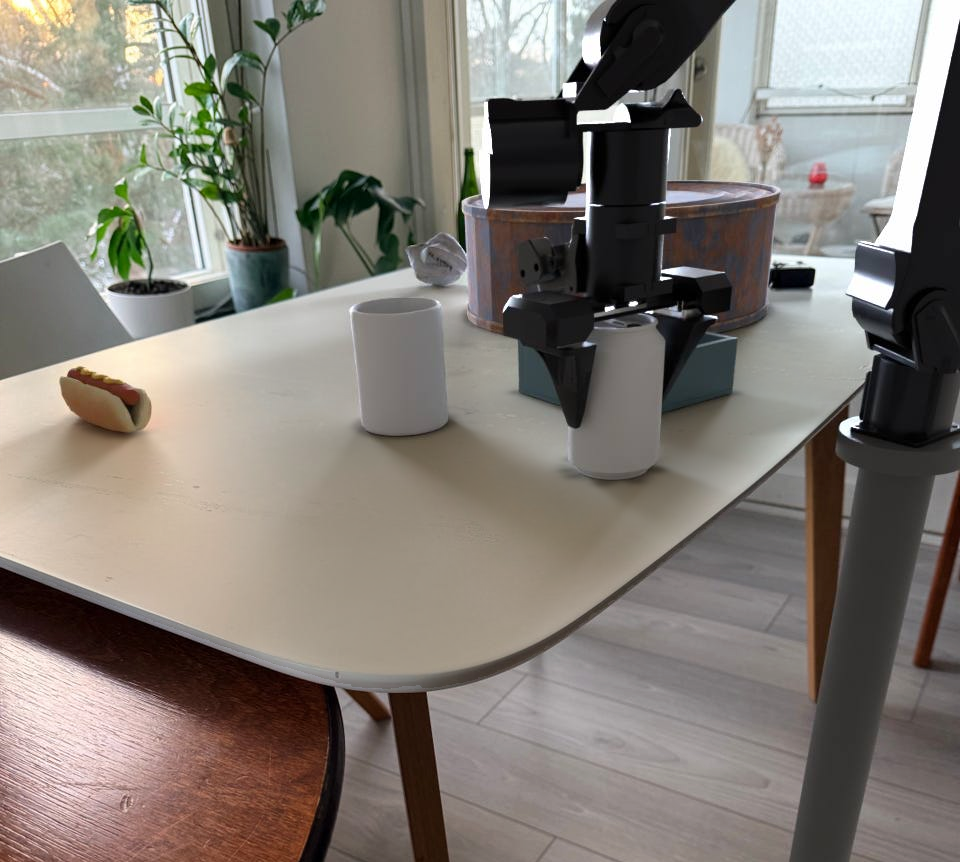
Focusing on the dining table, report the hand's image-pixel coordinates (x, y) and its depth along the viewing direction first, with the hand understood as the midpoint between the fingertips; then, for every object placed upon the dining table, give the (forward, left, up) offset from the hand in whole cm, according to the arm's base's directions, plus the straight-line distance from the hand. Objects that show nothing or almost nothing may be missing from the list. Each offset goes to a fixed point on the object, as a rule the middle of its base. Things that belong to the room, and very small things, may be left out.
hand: (616, 415), depth 73 cm
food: (+44, +29, -5) cm, 53 cm away
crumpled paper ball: (+87, -39, -5) cm, 95 cm away
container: (+49, -45, -5) cm, 67 cm away
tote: (+16, -16, -4) cm, 23 cm away
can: (0, 0, -5) cm, 5 cm away
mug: (+24, +5, -5) cm, 25 cm away
